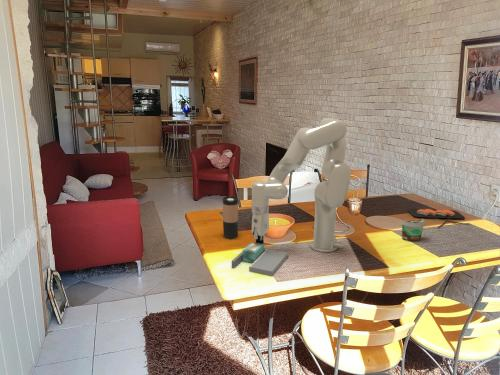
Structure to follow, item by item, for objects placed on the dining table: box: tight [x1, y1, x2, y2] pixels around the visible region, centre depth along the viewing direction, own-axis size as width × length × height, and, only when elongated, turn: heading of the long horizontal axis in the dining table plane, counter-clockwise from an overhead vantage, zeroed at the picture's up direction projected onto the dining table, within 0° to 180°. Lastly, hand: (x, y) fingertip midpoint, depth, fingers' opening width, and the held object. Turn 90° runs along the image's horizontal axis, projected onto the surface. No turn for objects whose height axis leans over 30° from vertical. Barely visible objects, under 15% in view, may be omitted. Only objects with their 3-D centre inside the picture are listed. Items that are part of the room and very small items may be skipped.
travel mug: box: [222, 195, 239, 240], centre depth 190 cm, size 8×8×20 cm
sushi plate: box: [407, 208, 470, 229], centre depth 218 cm, size 29×30×4 cm
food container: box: [400, 218, 426, 243], centre depth 187 cm, size 12×6×10 cm, turn 105°
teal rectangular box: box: [242, 241, 265, 264], centre depth 167 cm, size 6×10×5 cm, turn 156°
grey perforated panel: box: [231, 248, 289, 277], centre depth 163 cm, size 18×20×3 cm
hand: (259, 247), depth 173 cm, fingers closed
